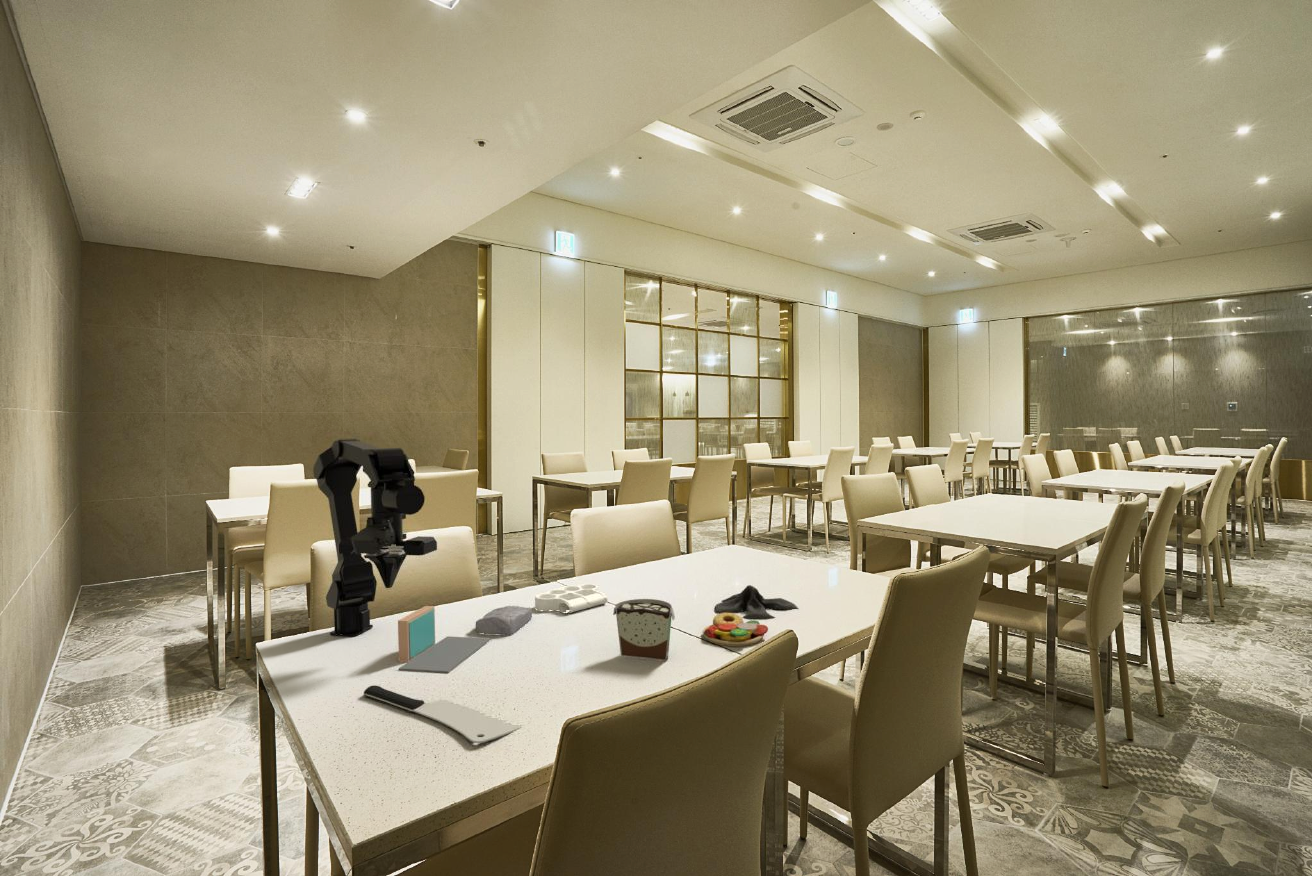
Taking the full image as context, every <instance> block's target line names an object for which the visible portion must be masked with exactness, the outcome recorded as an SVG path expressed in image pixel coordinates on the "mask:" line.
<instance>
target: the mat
mask: <svg viewBox="0 0 1312 876" xmlns="http://www.w3.org/2000/svg"><path fill="white" fill-rule="evenodd" d="M489 640H490V641H492V638H488V637H472V636H471V637H470V636H469V637H468V636H467V637H466V636H449V635H448V636H445V637H444V638H443V639H441V640H440V641H438V642H437V643H436V642H435V645H433V646H432V647H430V648H429V649H427V650H426V651H424V652H423V653H421V654H420V655H418V656H417V657H415V658H414V659H412V660H411V661H409V662H405V664H403V665H401V666H400V667H399V668H398V671H410V672H411V671H412V672H427V673H443V674H444V673H446V674H449V673H450V672H452V671H453V670H454V669H456V668H457V667H458V666H459V665H460V664H462V663H463V662H464V661H466V660H467V659H468V658H470V657H471V656H472V655H474V654H476V652H477V651H478V650H480V649H481V648H482V646H483V647H484V646H485V645H486V644H488V643H490V641H489ZM487 642H488V643H487Z"/></svg>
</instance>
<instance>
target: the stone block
mask: <svg viewBox="0 0 1312 876" xmlns="http://www.w3.org/2000/svg"><path fill="white" fill-rule="evenodd" d="M532 615H533V614H532V608H531V607H530V606H529V607H524V606H519V605H507V606H502V607H498V608H494V609H491V611H488V612H487V613H485V615H483V617H482V618H479V619H477V620H476V621H475V626H474V627H475V630H476V632H477V634H478V633H484V634H500V635H499V636H513V635H514V633H515V634H516V633H517V632H518V631H520V630H521V629H522V628H523V627H525V626H526V625H528V624H529V623H530V622H529V621H531V620H532V618H533V616H532ZM528 622H529V623H528ZM525 624H526V625H525ZM520 628H521V629H520ZM484 634H483V635H484Z"/></svg>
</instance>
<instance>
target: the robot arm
mask: <svg viewBox="0 0 1312 876" xmlns="http://www.w3.org/2000/svg"><path fill="white" fill-rule="evenodd" d="M361 468H362V472H363V473H364V474H365V475H366V476H367V477H368V479H369V480H370V481H369V482H368V483H367V487H368V488H370V509H371V510H370V512H371V513H370V514H371V516H368V517H367V518H366V526H365V527H364V528H361V529H360V530H359V531H358V527H357V520H356V515H355V514H356V513H355V509H354V501H353V496H352V495H353V494H352V493H353V490H354V488H355V486H356V484H357V481H358V477H357V475H358V473H359V472H360V470H361ZM312 474H313V477H314V478H315V480H316V482H317V483H316V484H317V487H318V489H319V490H320V492H322V493H323V495H325V497H327V499H328V506H329V511H330V517H331V523H332V524H331V525H332V532H333V538H334V544H335V545H334V546H335V550H336V556H337V564H336V565H335V568H334V569H333V572H332V574H331V580H332V582H331V584H330V586H329V588H328V591H327V593H326V595H325V600H326V605H327V607H329V608H331V609H333V623H334V624H333V626H334V628H333V629H334V630H332V631H330V632H329V635H330V636H343V637H344V636H347V637H356V636H359V635H361V634H363V633H365V632H366V631H368V630H370V629H372V628H373V627H374V625H373V624H371V616H370V615H371V612H370V611H371V610H370V608H369V603H370V602H375V598H376V592H377V587H378V586H377V584H378V583H377V581H378V580H377V579H376V576H375V575H374V569H373V568H374V567H373V566H375V568H376V569H377V571H378V573H379V576H380V577H381V580H382V583H383V585H384V587H385V588H386V589H391V588H393V585H394V584H395V581H396V579H397V577H398V573H399V571H400V569H401V567H402V565H403V563H404V561H405V559H406V558H407V556H425V555H427V554H430V553H432V552H436V551H438V542H437V540H436V538H435V537H434V536H415V537H412V538H409V539H407V533H403V529H404V528H403V520H404V519H406V518H407V516H409V515H414V514H417V513H418V512H420V510H422V508H423V506H424V504H425V500H426V499H425V494H424V492H423V491H422V489H421V488H420V487H419V486H418V485H415V481H416V477H415V471H414V469H413V467H412V464H411V463H410V461H409V459H408V456H407V455H406V453H405V451H404V450H403V449H402V448H401V447H388V448H387V447H386V448H385V447H383V448H381V447H377V446H374V445H371V444H368V443H366V442H363V441H361V440H360V439H356V438H348V439H347V438H344V439H343V438H342V439H340V438H339V439H337V440H334V441H333V442H332V444H331V446H330V447H329V448H327V449H326V450H324V451H323V452H321V453H320V454H318V457H317V459H316V461H315V463H314V465H313V473H312ZM406 539H407V540H406ZM362 554H364V555H363V556H362ZM366 559H368V560H370V561H367V560H366ZM373 564H374V565H373Z"/></svg>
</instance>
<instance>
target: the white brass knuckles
mask: <svg viewBox="0 0 1312 876" xmlns="http://www.w3.org/2000/svg"><path fill="white" fill-rule="evenodd" d="M607 603H608V597H607V595H606V594H605V593H603V592H601V591H599V586H598V585H596V584H595V583H594V584H593V583H582V584H578V585H566V586H562V587H560V588H559V587H558V588H553V589H549V590H547V591H546V592H543V593H538V594H536V595H535V596H534V607H535V608H536V609H537V610H543V611H542V612H544V611H547V612H550V611H549V610H560V611H559V612H561V613H563V612H566V610H570V611H569V612H568V615H569V614H571V613H573V612H575V613H576V612H578V611H582V610H587V608H588V609H589V608H594V607H597V606H602V605H605V604H607ZM535 608H534V609H535ZM536 609H535V610H536ZM537 610H536V611H537Z"/></svg>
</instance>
